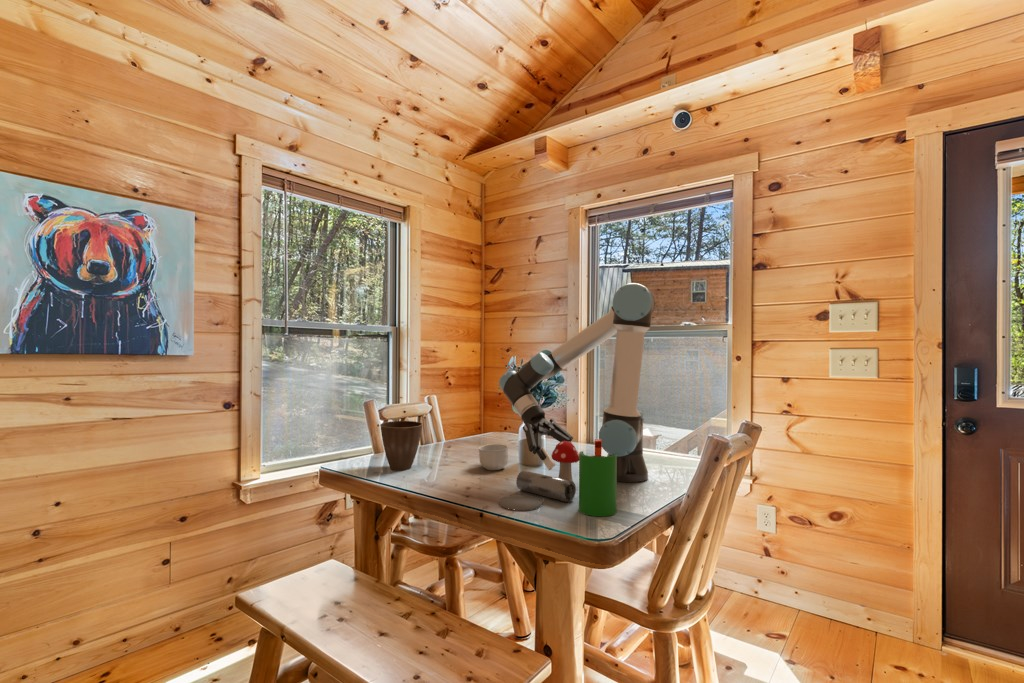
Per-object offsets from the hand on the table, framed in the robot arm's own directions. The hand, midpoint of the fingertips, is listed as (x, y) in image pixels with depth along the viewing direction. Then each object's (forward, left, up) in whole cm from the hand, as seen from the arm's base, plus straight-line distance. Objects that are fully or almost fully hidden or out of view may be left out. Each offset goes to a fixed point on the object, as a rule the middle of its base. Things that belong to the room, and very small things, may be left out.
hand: (565, 463), depth 163 cm
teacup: (-4, -36, -8) cm, 37 cm away
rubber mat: (+21, 0, -8) cm, 22 cm away
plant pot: (+20, -59, -8) cm, 63 cm away
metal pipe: (+10, 0, -8) cm, 13 cm away
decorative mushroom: (0, 0, -8) cm, 8 cm away
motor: (+11, +19, -8) cm, 23 cm away
